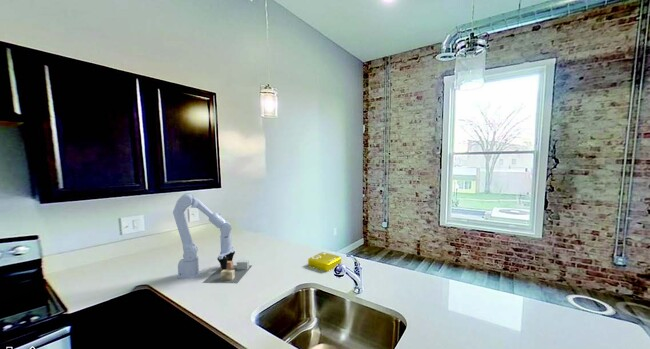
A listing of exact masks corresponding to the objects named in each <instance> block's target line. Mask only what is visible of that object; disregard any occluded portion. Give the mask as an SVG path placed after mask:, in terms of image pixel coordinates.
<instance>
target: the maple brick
mask: <svg viewBox="0 0 650 349" xmlns="http://www.w3.org/2000/svg"><path fill="white" fill-rule="evenodd" d="M234 278H235V270H222V271H221V280H233V279H234Z"/></svg>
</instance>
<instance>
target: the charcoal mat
mask: <svg viewBox="0 0 650 349" xmlns="http://www.w3.org/2000/svg"><path fill="white" fill-rule="evenodd" d="M252 267H253V265H250V264H249V268H248V269H237V264H236V265H235V264H233V268H232V269H231V270H235V278H234V279H233V280H221V271H222V270H221V268H220V267H219V268H217V269H216V270H214V272H213V273H211V274H210V275H209V276H208V277H207V278H206V279H205V280H203V281H202V284H238V283H240V280H241V279H243V277H244V276H245V275H246V273H248V271H249V270H250V269H251V268H252Z"/></svg>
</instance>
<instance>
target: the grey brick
mask: <svg viewBox="0 0 650 349" xmlns="http://www.w3.org/2000/svg"><path fill="white" fill-rule="evenodd" d="M236 265H237V269H248V268H249V265H250V259H249V260H248V259H247V260H245V259H242V260H241V259H240V260H237V262H236Z"/></svg>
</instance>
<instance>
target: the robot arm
mask: <svg viewBox="0 0 650 349" xmlns="http://www.w3.org/2000/svg"><path fill="white" fill-rule="evenodd" d="M189 207H190V208H193V209H194V208H195V209H198V210H199V211H200V212H202V213H203V214H204V215H205V216H206V217H208V221H209V222H210V223H211V224H212V225H214V226H215V227H216V228H218V229H219V231H220V236H219V238H220V240H219V241H220V252H219V254H218V257H216V258H217V261H218V263H219V265H221V268H222V270H226V268H227V261H233V260H234V259H233V258H234V255H235V254H236V253H235V251H234V246H232V228H233V227H232V225H231V222H230V221H228V220H227V219H226V218H223V216H221V213H218V212H213V211H212V210H211V209H210V208H208V206H207V205H205V203H203V202H202V201H201V200H200V199H199V198H198V197H196V196H194V195H193V194H192V193H188V192H187V193H186V192H185V193H183V195H181V196H180V197H179V198H178V200H176V203H175V206H174V209H173V212H172V214H173V217H174V220H175V225H176V227H177V230H178V234H179V237H180V241H181V243H182V251H183V254H182V259H180V260H179V261H178V264H177V278H176V279H195V278H197V277H198V276H199V275H200V274H201V273H203V271H202V270H201V271H200V269H199V267H200V265H199V256H198V255H197V254H198V250H199V249H198V246H197V245H196V244H195V242H194V241H193V239H192V238H193V237H192V235H191V231H190V229H189V228H190V227H189V225H188V221H187V218H186V216H185V211H186V210H187V209H188V208H189Z"/></svg>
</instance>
